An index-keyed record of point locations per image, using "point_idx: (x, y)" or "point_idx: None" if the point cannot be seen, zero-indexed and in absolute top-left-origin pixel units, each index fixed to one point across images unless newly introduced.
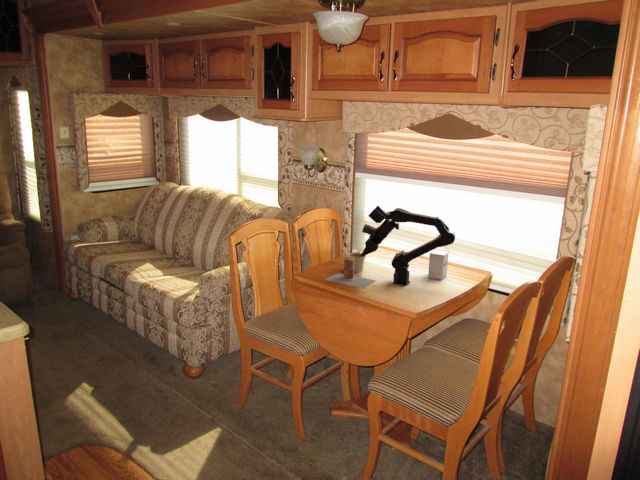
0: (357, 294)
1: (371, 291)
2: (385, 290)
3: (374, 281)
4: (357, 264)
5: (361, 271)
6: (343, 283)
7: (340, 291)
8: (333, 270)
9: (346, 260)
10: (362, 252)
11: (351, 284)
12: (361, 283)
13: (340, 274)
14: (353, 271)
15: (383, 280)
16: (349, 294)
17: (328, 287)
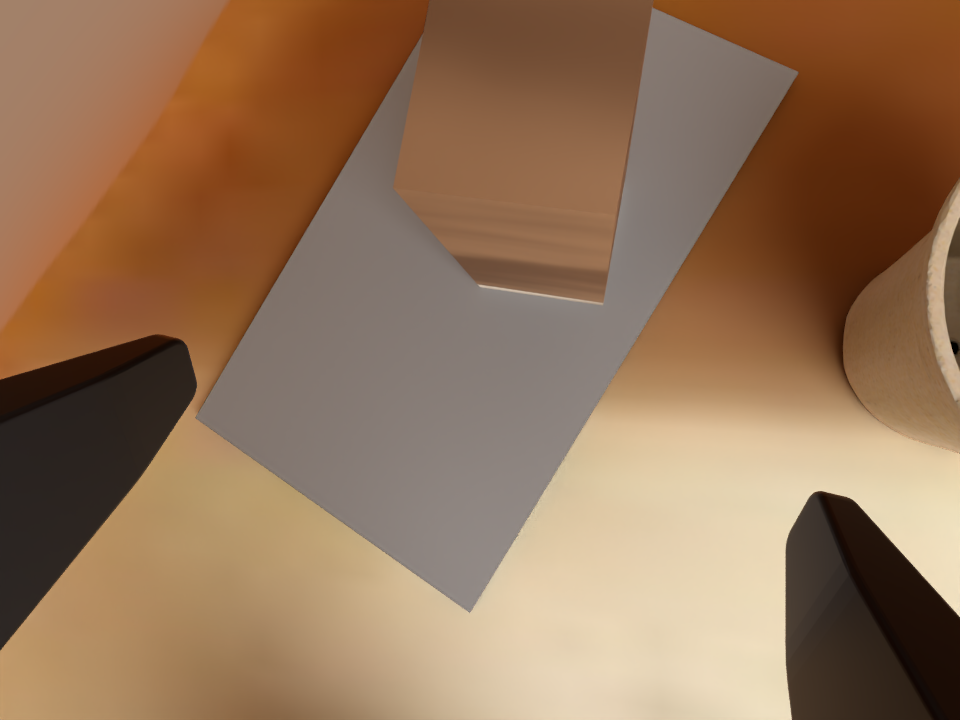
0: (57, 336)
1: (136, 496)
2: (164, 668)
3: (438, 576)
4: (892, 342)
5: (890, 425)
6: (354, 174)
7: (140, 158)
8: (954, 3)
9: (424, 40)
10: (26, 378)
11: (321, 271)
12: (358, 395)
13: (719, 115)
14: (519, 270)
15: (524, 713)
16: (60, 253)
17: (256, 21)
